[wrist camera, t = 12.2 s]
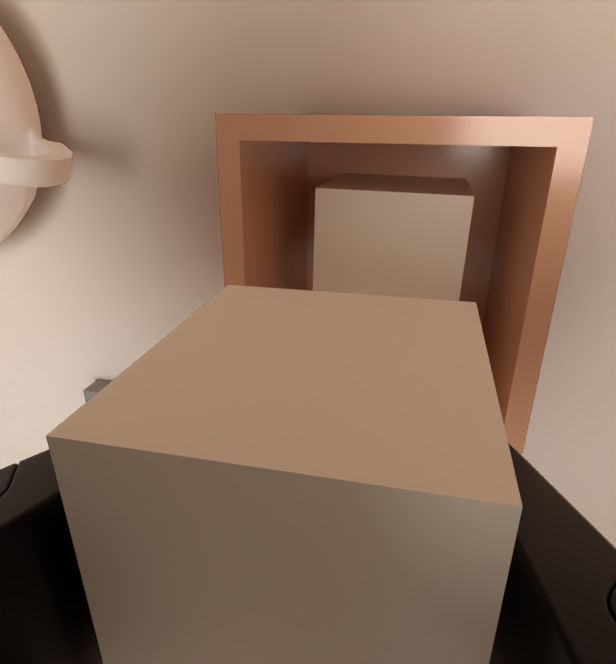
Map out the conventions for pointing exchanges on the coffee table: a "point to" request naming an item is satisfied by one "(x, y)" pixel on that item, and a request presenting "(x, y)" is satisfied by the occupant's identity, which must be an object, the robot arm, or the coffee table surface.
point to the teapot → (23, 144)
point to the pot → (428, 161)
